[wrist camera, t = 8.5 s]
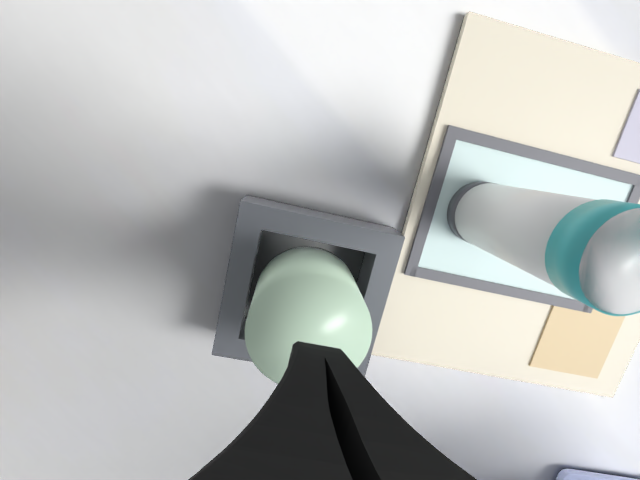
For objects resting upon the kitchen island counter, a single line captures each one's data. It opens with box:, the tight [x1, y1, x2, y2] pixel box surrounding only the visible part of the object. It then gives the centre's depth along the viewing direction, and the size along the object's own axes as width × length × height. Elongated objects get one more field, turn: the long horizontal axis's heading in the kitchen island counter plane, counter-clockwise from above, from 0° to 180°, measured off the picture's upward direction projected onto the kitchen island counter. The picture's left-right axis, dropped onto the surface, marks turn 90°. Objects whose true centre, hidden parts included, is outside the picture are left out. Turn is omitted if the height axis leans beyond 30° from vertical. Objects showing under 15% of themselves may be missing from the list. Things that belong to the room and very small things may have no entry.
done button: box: [245, 247, 372, 384], centre depth 14 cm, size 4×4×4 cm
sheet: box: [371, 11, 640, 398], centre depth 18 cm, size 16×14×1 cm
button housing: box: [212, 195, 405, 377], centre depth 17 cm, size 7×7×2 cm
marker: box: [447, 181, 640, 316], centre depth 13 cm, size 3×3×8 cm
